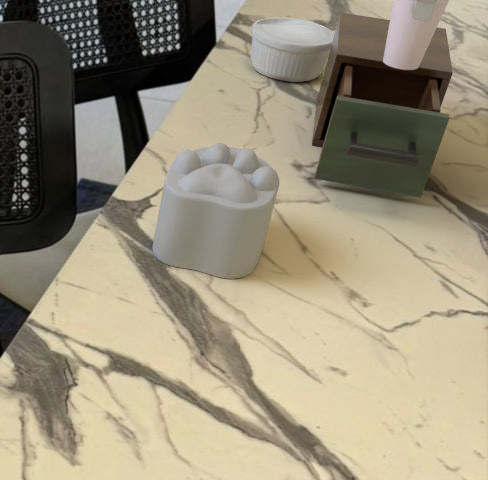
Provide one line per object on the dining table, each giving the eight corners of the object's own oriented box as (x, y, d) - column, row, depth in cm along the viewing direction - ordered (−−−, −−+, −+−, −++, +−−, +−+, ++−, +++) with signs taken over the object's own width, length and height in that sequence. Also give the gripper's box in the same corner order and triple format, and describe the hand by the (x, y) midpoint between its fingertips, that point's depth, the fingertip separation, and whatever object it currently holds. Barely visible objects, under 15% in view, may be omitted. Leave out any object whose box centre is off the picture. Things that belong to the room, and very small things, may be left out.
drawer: (422, 217, 107) (452, 136, 101) (312, 197, 108) (335, 116, 103) (417, 145, 121) (443, 70, 115) (319, 128, 123) (340, 53, 117)
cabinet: (420, 164, 119) (452, 72, 112) (311, 145, 121) (336, 54, 114) (416, 114, 130) (446, 28, 123) (317, 97, 132) (340, 12, 125)
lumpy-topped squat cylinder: (143, 259, 98) (158, 174, 92) (173, 202, 107) (188, 122, 101) (250, 284, 96) (273, 199, 90) (271, 224, 105) (292, 143, 99)
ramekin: (282, 50, 145) (291, 11, 141) (343, 77, 138) (355, 37, 135) (226, 63, 140) (235, 22, 136) (287, 91, 133) (298, 50, 130)
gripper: (429, -172, 103) (386, -25, 112) (438, -133, 88) (387, 33, 97) (494, -164, 102) (445, -16, 111) (514, -123, 87) (456, 44, 96)
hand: (418, 7), depth 104 cm, fingers closed on smoothie, 6 cm apart
